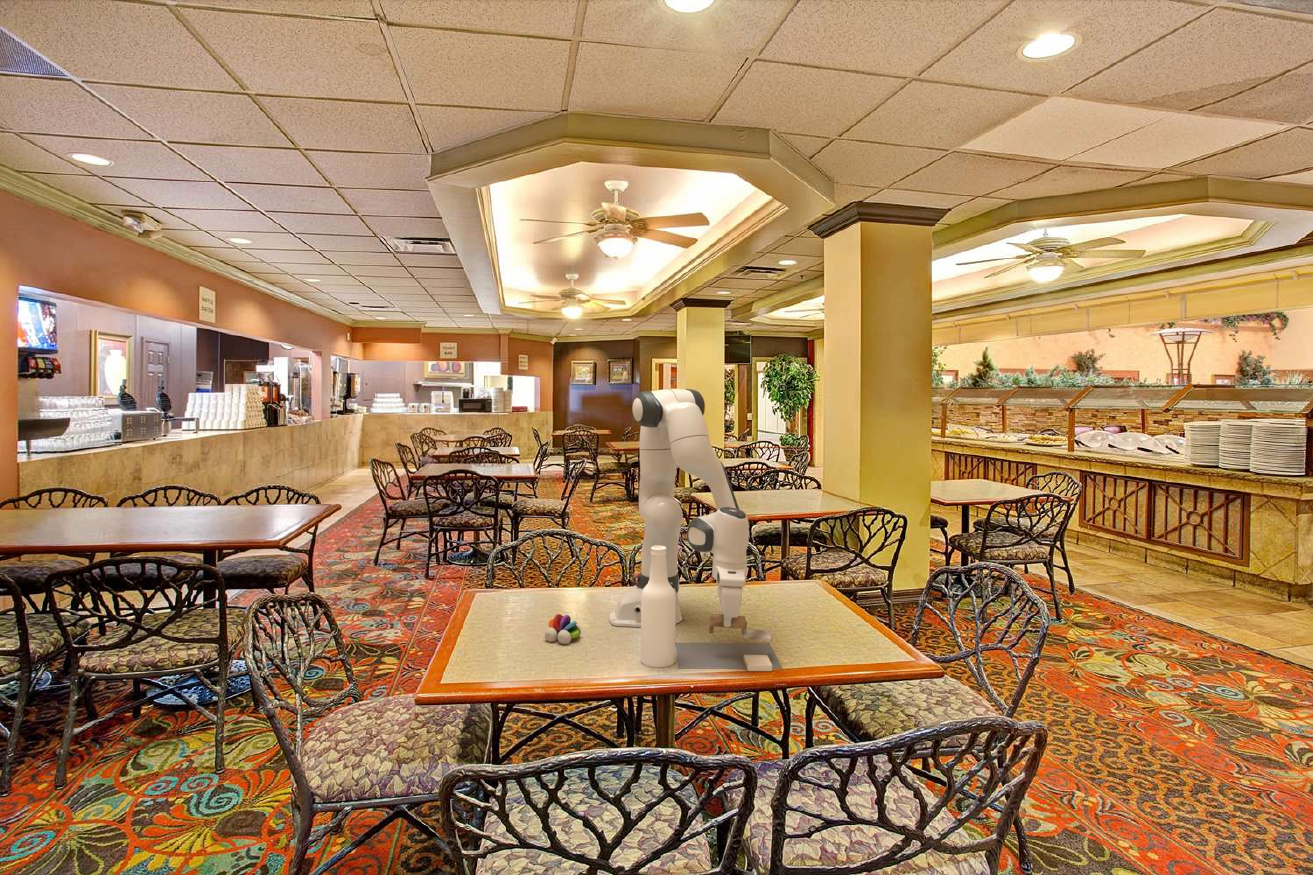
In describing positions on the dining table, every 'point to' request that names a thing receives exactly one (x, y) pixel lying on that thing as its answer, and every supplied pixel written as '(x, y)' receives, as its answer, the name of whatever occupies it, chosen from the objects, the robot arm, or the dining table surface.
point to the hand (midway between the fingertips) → (726, 623)
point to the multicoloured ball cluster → (562, 629)
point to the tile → (757, 663)
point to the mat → (721, 655)
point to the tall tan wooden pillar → (738, 627)
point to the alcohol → (658, 614)
